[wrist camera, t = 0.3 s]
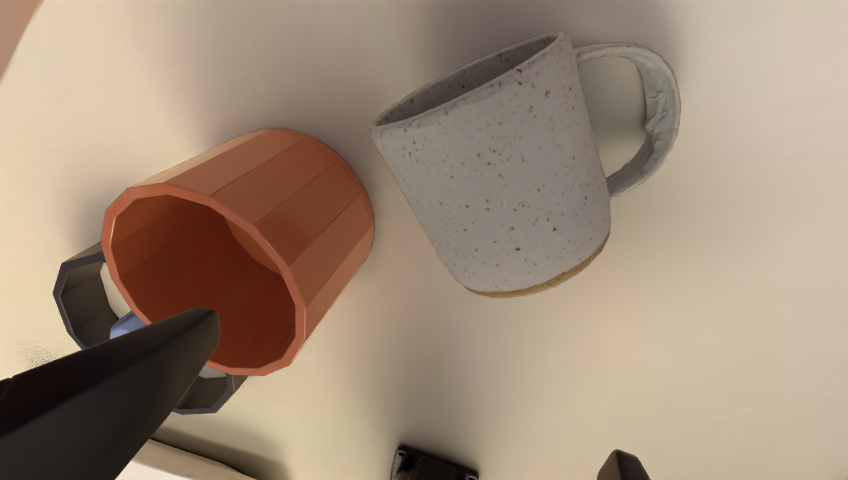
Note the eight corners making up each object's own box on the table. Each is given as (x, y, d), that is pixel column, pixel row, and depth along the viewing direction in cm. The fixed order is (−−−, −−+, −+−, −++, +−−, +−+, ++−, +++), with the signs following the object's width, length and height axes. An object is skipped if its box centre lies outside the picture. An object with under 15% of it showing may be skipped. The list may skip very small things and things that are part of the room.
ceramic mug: (470, 240, 24) (438, 335, 17) (401, 94, 21) (332, 143, 14) (692, 172, 19) (760, 266, 13) (643, -23, 17) (699, -29, 10)
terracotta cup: (367, 301, 28) (304, 401, 21) (226, 258, 30) (127, 338, 23) (383, 152, 23) (306, 223, 16) (210, 109, 24) (75, 157, 18)
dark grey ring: (263, 404, 37) (239, 437, 34) (117, 351, 39) (84, 378, 36) (254, 265, 29) (223, 294, 27) (74, 210, 31) (28, 231, 29)
